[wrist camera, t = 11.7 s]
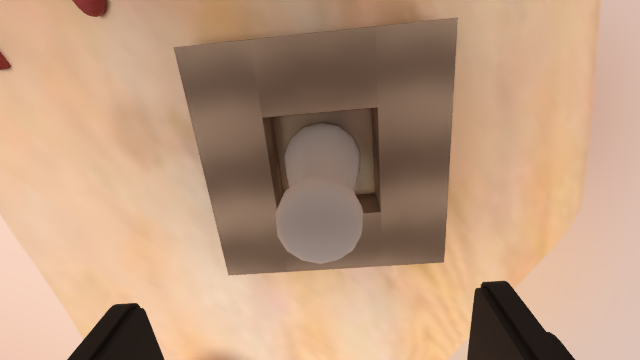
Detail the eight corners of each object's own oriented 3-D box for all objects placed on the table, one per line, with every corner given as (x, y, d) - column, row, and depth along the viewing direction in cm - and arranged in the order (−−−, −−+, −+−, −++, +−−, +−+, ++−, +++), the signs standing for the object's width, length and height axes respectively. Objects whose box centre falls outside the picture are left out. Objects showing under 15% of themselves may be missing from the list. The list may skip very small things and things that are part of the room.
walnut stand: (195, 48, 24) (173, 47, 21) (439, 22, 23) (457, 17, 20) (239, 251, 31) (228, 275, 27) (431, 239, 29) (444, 262, 26)
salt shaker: (298, 190, 28) (275, 294, 16) (279, 127, 26) (236, 192, 14) (364, 174, 27) (392, 271, 15) (349, 109, 25) (368, 160, 13)
